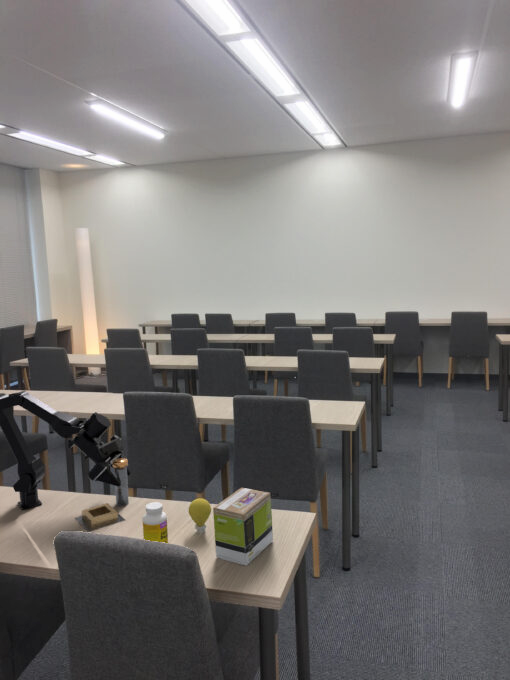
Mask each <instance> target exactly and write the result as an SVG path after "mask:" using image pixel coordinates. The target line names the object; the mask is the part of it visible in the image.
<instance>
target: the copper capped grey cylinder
mask: <svg viewBox="0 0 510 680" xmlns="http://www.w3.org/2000/svg"><path fill="white" fill-rule="evenodd" d="M128 462H129V461H128V459H127V458H124V457H123V458H119V459H115V460H113V467H114V468H113V467H112V468H113V471H114V476H115V477H116V478H117V479H118V481H119V482H120V483H121V485H120V486H119V487H118V486H115V485H114V487H115V489H114V490H115V502H116V503H115V504H116V506H117V507H125V506H128V505H129V500H130V499H129V487H128V484H129V483H128V481H129V480H128V475H127V467H128V466H129V463H128Z"/></svg>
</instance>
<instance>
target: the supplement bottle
mask: <svg viewBox="0 0 510 680" xmlns="http://www.w3.org/2000/svg"><path fill="white" fill-rule="evenodd" d="M163 507H164V506H163V503H162V502H157V501H154V502H149V503H148V504H146V505H145V507H144V509H145V514H144V515H143V516H142V533H143V534H142V535H143V540H144V539H145V540H150V541H158V542H165V543H168V544H169V535H168V534H169V532H168V517H167V514H166V512H164V511H163V510H164V508H163Z"/></svg>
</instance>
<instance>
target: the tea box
mask: <svg viewBox="0 0 510 680" xmlns="http://www.w3.org/2000/svg"><path fill="white" fill-rule="evenodd" d="M271 495H272V494H271V492H268V491H263V490H261V491H260V490H255V489H251V488H245V487H240V488H239V489H237V490H236V491H235V492H233V493H232V494H231V495H229V496H228V497H226V498H224V500H222V501H221V502H219V503H218V504H216V505H215V506H213V511H212V513H213V527H214V528H213V529H214V540H215V541H214V543H215V545H214V546H215V557H216V558H218V559H220V560H224V561H227V562H230V563H233V564H234V563H235V564H238V565H242V566H246V567H247V565H249V564H250V563H251V562H252V561H253V560H254V559H256V558H257V557H258V555H260V554H261V553H262V552H263V550H265V549H266V548H268V546H269V545H270V544H271V543H272V542H273V541H274V533H273V532H274V531H273V514H272V500H271V499H272V498H271V497H272V496H271Z"/></svg>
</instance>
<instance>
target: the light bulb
mask: <svg viewBox="0 0 510 680" xmlns="http://www.w3.org/2000/svg"><path fill="white" fill-rule="evenodd" d="M211 512H212V507H211V504H210V502H209V500H207V499H205V498H195V499H194V500H192V502H190V504H189V507H188V514H189V516H190V518H191V519H192V521H193V522H194V523H195V526H194V529H195V530H196V533H198V534H203V533H205V531H206V529H207V523H206V522H207V521H208V520H209V517H210V515H211Z"/></svg>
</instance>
